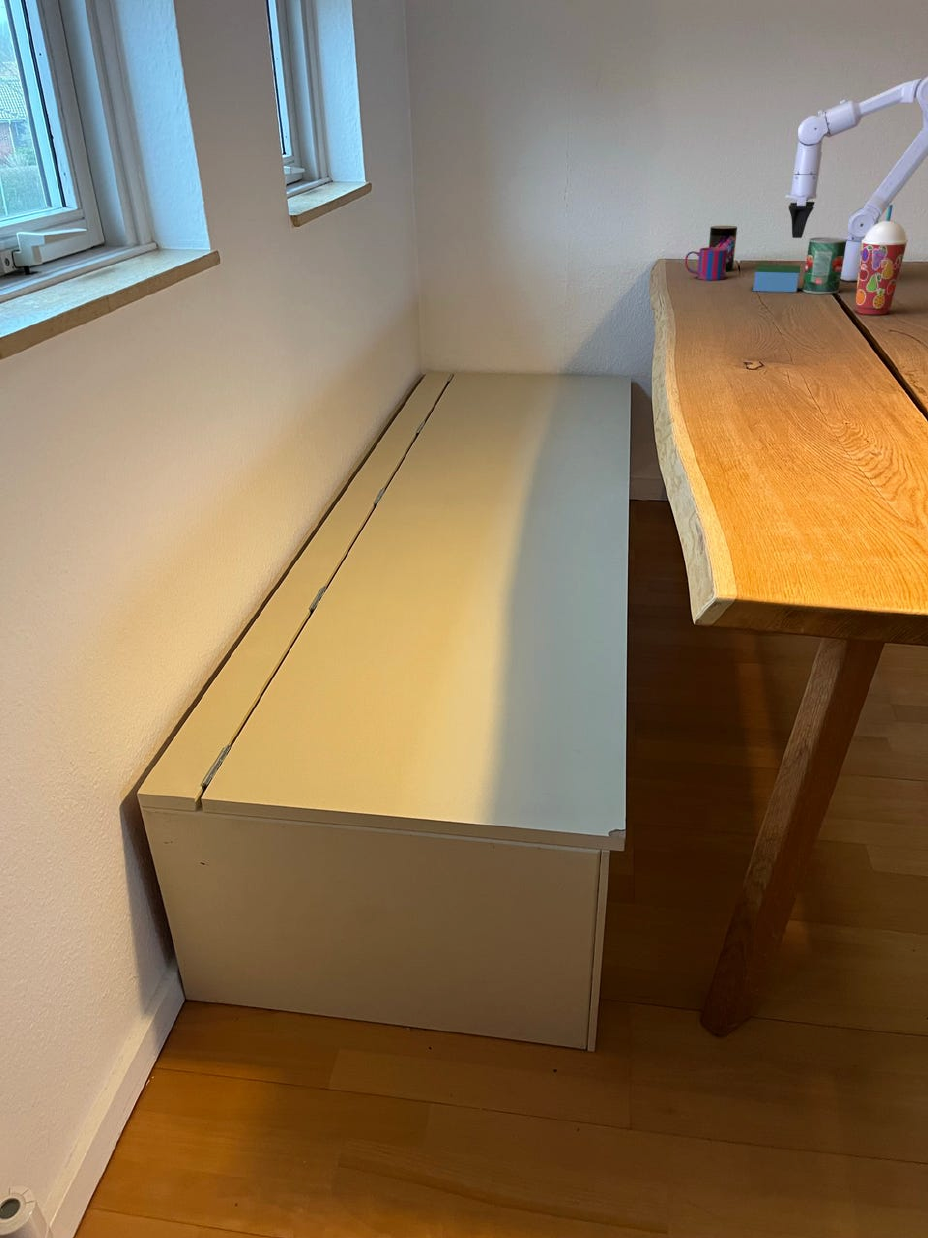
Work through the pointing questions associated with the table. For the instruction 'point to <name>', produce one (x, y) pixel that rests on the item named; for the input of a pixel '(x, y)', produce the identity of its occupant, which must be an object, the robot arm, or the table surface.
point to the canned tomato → (824, 265)
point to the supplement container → (724, 241)
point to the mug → (710, 263)
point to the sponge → (776, 278)
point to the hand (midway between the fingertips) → (797, 235)
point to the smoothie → (880, 266)
